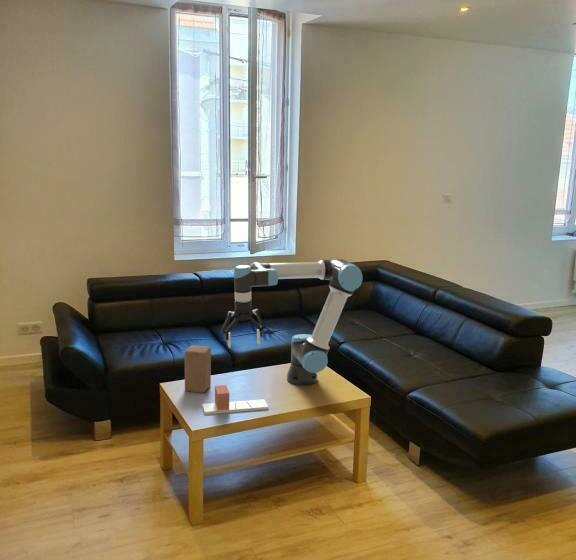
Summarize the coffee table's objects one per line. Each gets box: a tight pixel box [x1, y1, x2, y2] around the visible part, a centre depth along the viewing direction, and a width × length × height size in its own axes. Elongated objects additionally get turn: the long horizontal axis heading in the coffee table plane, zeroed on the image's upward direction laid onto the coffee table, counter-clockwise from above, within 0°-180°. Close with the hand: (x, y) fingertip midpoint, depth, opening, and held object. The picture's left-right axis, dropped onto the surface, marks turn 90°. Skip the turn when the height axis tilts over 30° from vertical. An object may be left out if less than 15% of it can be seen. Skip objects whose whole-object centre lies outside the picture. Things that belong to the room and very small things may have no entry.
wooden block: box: [184, 344, 212, 394], centre depth 272 cm, size 10×10×20 cm
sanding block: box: [214, 384, 230, 411], centre depth 253 cm, size 5×9×8 cm, turn 15°
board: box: [202, 398, 269, 415], centre depth 255 cm, size 28×8×1 cm, turn 105°
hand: (244, 345), depth 262 cm, fingers open, 13 cm apart
